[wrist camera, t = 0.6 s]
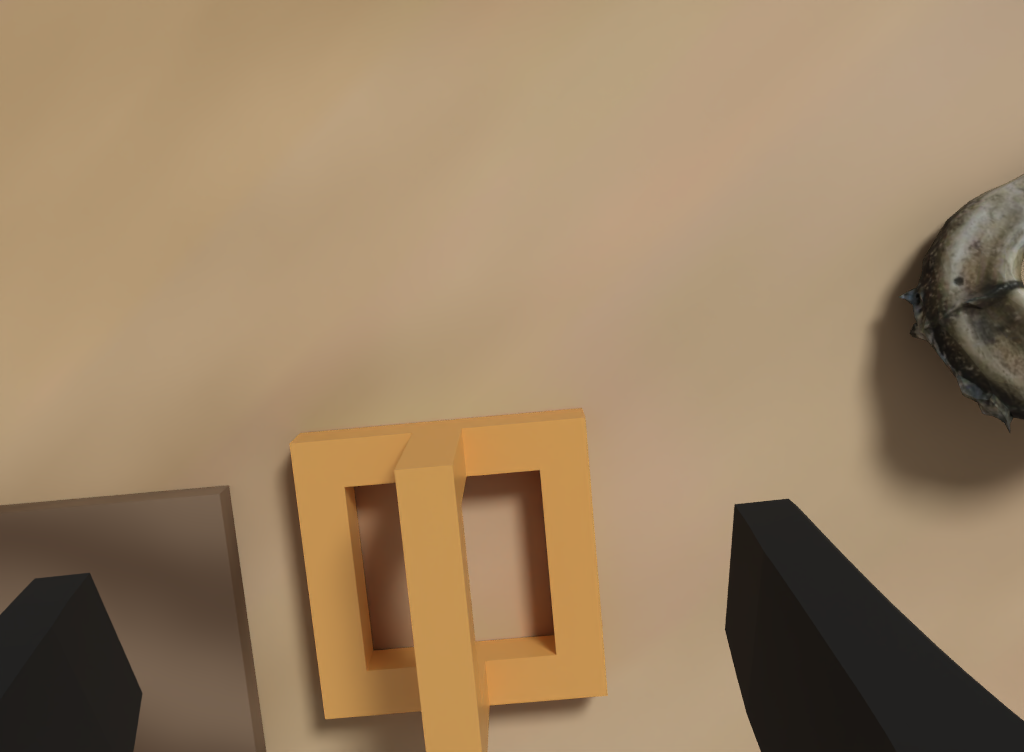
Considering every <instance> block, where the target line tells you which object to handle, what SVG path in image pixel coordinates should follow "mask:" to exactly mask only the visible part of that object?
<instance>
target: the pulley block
mask: <svg viewBox="0 0 1024 752" xmlns="http://www.w3.org/2000/svg"><path fill="white" fill-rule="evenodd" d="M1023 258H1024V174H1023V175H1021V176H1019V177H1017V178H1016V179H1014V180H1012V181H1010V182H1008V183H1006V184H1004V185H1001V186H999V187H996V188H994V189H992V190H989V191H987V192H985V193H983V194H981V195H980V196H978V197H976V198H974V199H973V200H971V201H969V202H968V203H967V204H965V205H964V206H963V207H962V208H961V209H959V210H958V211H957V212H956V213H955V214H953V215H952V216H951V217H950V218H949V219H947V221H946V222H945V224H944V226H943V228H942V229H941V231H940V233H939V234H938V236H937V238H936V240H935V241H934V243H933V245H932V246H931V248H930V250H929V252H928V253H927V255H926V257H925V258H924V260H923V266H922V275H921V278H920V281H919V284H918V286H917V288H915V289H912V290H910V291H908V292H906V293H905V294H903V295H901V296H899V297H900V298H904V299H905V300H907V301H908V302H910V303H911V304H912V305H913V310H914V316H915V320H916V323H915V324H914V325H913V327H912V330H911V332H910V334H911V335H912V337H916V338H920V339H924V340H927V341H928V342H929V343H930V344H931V345H932V347H933V348H934V349H935V351H936V352H937V354H938V355H939V356H940V358H941V359H942V360H943V362H944V363H945V364H946V365H947V367H948V368H949V369H950V370H951V372H952V373H953V374H954V375H955V377H956V378H957V381H958V384H959V386H960V389H961V392H962V395H964V396H966V397H968V398H970V399H972V400H974V401H975V402H977V403H978V405H979V407H980V409H981V411H982V413H983V414H986V415H990V416H994V417H996V418H998V419H1000V420H1001V421H1002V422H1004V423H1005V425H1006V427H1007V428H1008V430H1009V432H1010V423H1011V421H1012V419H1013V417H1014V418H1019V419H1024V285H1023V282H1022V279H1021V264H1022V261H1023Z"/></svg>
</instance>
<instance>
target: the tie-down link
mask: <svg viewBox="0 0 1024 752" xmlns="http://www.w3.org/2000/svg"><path fill="white" fill-rule="evenodd" d="M290 451H291V459H292V467H293V475H294V482H295V490H296V498H297V506H298V513H299V521H300V529H301V537H302V544H303V552H304V560H305V568H306V575H307V583H308V591H309V599H310V606H311V614H312V622H313V629H314V637H315V645H316V653H317V660H318V668H319V676H320V684H321V691H322V699H323V707H324V715H325V719H335V718H347V717H359V716H371V715H382V714H394V713H406V712H418V711H421V712H422V721H423V730H424V738H425V747H426V752H487V748H488V728H489V707H490V705H501V704H513V703H525V702H537V701H549V700H561V699H573V698H585V697H596V696H608V694H607V682H606V669H605V657H604V644H603V632H602V619H601V607H600V594H599V582H598V570H597V557H596V545H595V532H594V520H593V507H592V495H591V482H590V470H589V457H588V445H587V433H586V420H585V415H584V413H583V410H582V408H578V409H567V410H556V411H544V412H533V413H522V414H511V415H499V416H488V417H477V418H465V419H454V420H443V421H432V422H420V423H409V424H398V425H386V426H375V427H364V428H353V429H341V430H330V431H319V432H308V433H300V434H299V435H298V436H297V437H296V438H295V439H294V440H293V441H292V442H291V443H290ZM534 470H540V478H541V489H542V500H543V512H544V523H545V534H546V546H547V557H548V568H549V580H550V591H551V602H552V613H553V625H554V635H548V636H536V637H525V638H513V639H501V640H490V641H478V642H475V634H474V624H473V614H472V604H471V595H470V585H469V575H468V565H467V555H466V546H465V536H464V526H463V516H462V506H461V504H462V498H463V493H464V487H465V482H466V477H467V476H477V475H488V474H500V473H511V472H523V471H534ZM386 483H396V489H397V498H398V507H399V516H400V525H401V534H402V543H403V552H404V561H405V569H406V578H407V587H408V596H409V605H410V614H411V623H412V632H413V641H414V647H407V648H396V649H384V650H373V642H372V634H371V626H370V617H369V609H368V600H367V592H366V584H365V575H364V567H363V559H362V550H361V542H360V533H359V525H358V517H357V508H356V500H355V492H354V486H363V485H375V484H386Z"/></svg>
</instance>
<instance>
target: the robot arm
mask: <svg viewBox="0 0 1024 752" xmlns="http://www.w3.org/2000/svg"><path fill="white" fill-rule="evenodd" d="M725 631H726V635H727V639H728V643H729V647H730V651H731V655H732V659H733V663H734V667H735V671H736V675H737V679H738V683H739V686H740V690H741V694H742V698H743V701H744V705H745V709H746V712H747V715H748V718H749V721H750V724H751V726H752V729H753V732H754V734H755V737H756V739H757V742H758V745H759V747H760V750H761V752H1024V721H1023V720H1022V719H1021V718H1019V717H1018V716H1017V715H1016V714H1015V713H1013V712H1012V711H1011V710H1010V709H1008V708H1007V707H1006V706H1005V705H1004V704H1003V703H1001V702H1000V701H999V700H998V699H997V698H996V697H994V696H993V695H992V694H991V693H990V692H989V691H987V690H986V689H985V688H984V687H983V686H982V685H980V684H979V683H978V682H977V681H976V680H975V679H973V678H972V677H971V676H970V675H969V674H968V673H966V672H965V671H964V670H963V669H962V668H961V667H960V666H959V665H957V664H956V663H955V662H954V661H953V660H952V659H951V658H950V657H949V656H947V655H946V654H945V653H944V652H943V651H942V650H941V649H940V648H939V647H938V646H936V645H935V644H934V643H933V642H932V641H931V640H930V639H929V638H928V637H927V636H926V635H925V634H924V633H923V632H922V631H921V630H919V629H918V628H917V627H916V626H915V625H914V624H913V623H912V622H911V621H910V620H909V619H908V618H907V617H906V616H905V615H904V614H902V613H901V612H900V611H899V610H898V609H897V608H896V607H895V606H894V605H893V604H892V603H891V602H890V601H889V600H888V599H887V598H886V597H885V596H884V595H883V594H882V593H881V592H880V591H879V590H878V589H877V588H876V587H875V586H874V585H873V584H872V583H871V582H870V581H869V580H868V579H867V578H866V577H865V576H864V575H863V574H862V573H861V572H860V571H859V570H858V569H857V568H856V567H855V566H854V565H853V564H852V563H851V562H850V561H849V560H848V559H847V558H846V557H845V556H844V555H843V554H842V553H841V552H840V551H839V550H838V549H837V548H836V547H835V546H834V545H833V543H832V542H831V541H830V540H829V539H828V538H827V537H826V536H825V535H824V534H823V533H822V532H821V531H820V530H819V529H818V528H817V527H816V526H815V525H814V523H813V522H812V521H811V520H810V519H809V518H808V517H807V516H806V515H805V514H804V513H803V512H802V511H801V510H800V509H799V508H798V507H797V506H796V505H795V504H794V503H793V502H792V501H790V500H789V499H782V500H772V501H763V502H753V503H744V504H735V507H734V520H733V533H732V546H731V559H730V572H729V585H728V598H727V612H726V625H725ZM141 700H142V691H141V688H140V686H139V684H138V682H137V679H136V677H135V675H134V672H133V670H132V668H131V666H130V663H129V661H128V659H127V656H126V654H125V652H124V650H123V647H122V645H121V643H120V640H119V638H118V636H117V634H116V631H115V629H114V627H113V624H112V622H111V620H110V618H109V615H108V613H107V611H106V608H105V606H104V604H103V602H102V599H101V597H100V595H99V592H98V590H97V588H96V586H95V583H94V581H93V579H92V576H91V574H90V573H82V574H72V575H63V576H53V577H44V578H35V579H34V580H33V581H32V582H31V583H30V584H29V585H28V586H27V587H26V588H25V589H24V590H23V591H22V592H21V593H20V594H19V595H18V596H17V597H16V598H15V599H14V600H13V602H12V603H11V604H10V605H9V606H8V607H7V608H6V609H5V610H4V611H3V612H2V613H1V615H0V752H133V751H134V746H135V740H136V733H137V726H138V720H139V713H140V707H141Z"/></svg>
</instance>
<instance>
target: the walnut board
mask: <svg viewBox="0 0 1024 752" xmlns="http://www.w3.org/2000/svg"><path fill="white" fill-rule="evenodd" d="M82 573H90V574H91V576H92V579H93V581H94V583H95V586H96V588H97V590H98V592H99V595H100V597H101V599H102V602H103V604H104V606H105V608H106V611H107V613H108V615H109V618H110V620H111V622H112V624H113V627H114V629H115V631H116V634H117V636H118V638H119V640H120V643H121V645H122V647H123V650H124V652H125V654H126V656H127V659H128V661H129V663H130V666H131V668H132V670H133V672H134V675H135V677H136V679H137V682H138V684H139V686H140V688H141V691H142V700H141V707H140V713H139V720H138V726H137V733H136V740H135V746H134V751H133V752H266V747H265V740H264V733H263V726H262V719H261V712H260V704H259V697H258V690H257V683H256V676H255V669H254V662H253V654H252V647H251V640H250V633H249V626H248V619H247V612H246V605H245V597H244V590H243V583H242V576H241V569H240V562H239V555H238V547H237V540H236V533H235V526H234V519H233V512H232V505H231V497H230V490H229V486H218V487H206V488H195V489H184V490H172V491H161V492H149V493H138V494H127V495H115V496H104V497H93V498H81V499H70V500H58V501H47V502H36V503H24V504H13V505H2V506H0V615H1V613H2V612H3V611H4V610H5V609H6V608H7V607H8V606H9V605H10V604H11V603H12V602H13V600H14V599H15V598H16V597H17V596H18V595H19V594H20V593H21V592H22V591H23V590H24V589H25V588H26V587H27V586H28V585H29V584H30V583H31V582H32V581H33V580H34V579H35V578H44V577H53V576H63V575H72V574H82Z"/></svg>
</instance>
